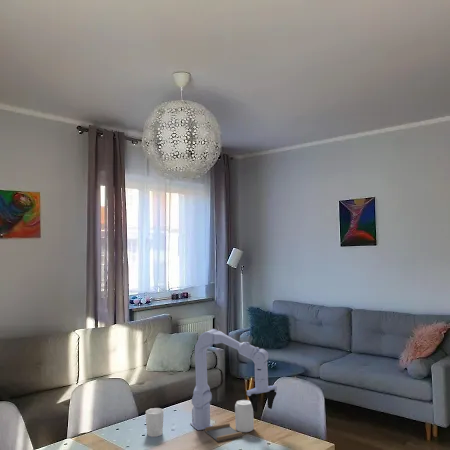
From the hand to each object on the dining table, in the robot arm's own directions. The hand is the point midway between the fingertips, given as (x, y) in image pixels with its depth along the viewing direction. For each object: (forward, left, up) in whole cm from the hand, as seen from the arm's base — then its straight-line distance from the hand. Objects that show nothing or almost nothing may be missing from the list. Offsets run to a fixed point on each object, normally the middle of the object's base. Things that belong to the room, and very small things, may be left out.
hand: (262, 409), depth 200 cm
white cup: (-24, -42, -11) cm, 49 cm away
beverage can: (-9, -5, -11) cm, 14 cm away
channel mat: (-9, -15, -10) cm, 20 cm away
